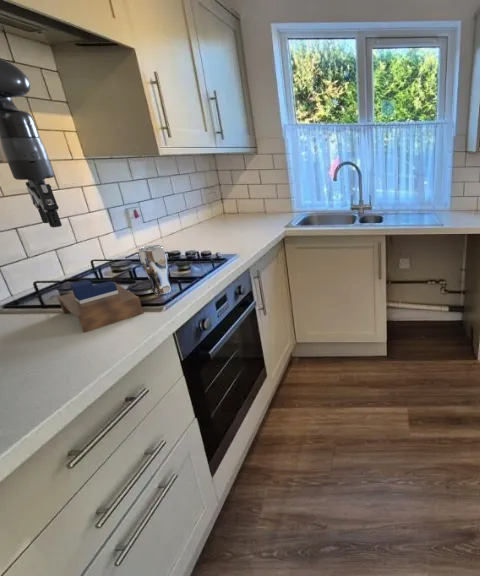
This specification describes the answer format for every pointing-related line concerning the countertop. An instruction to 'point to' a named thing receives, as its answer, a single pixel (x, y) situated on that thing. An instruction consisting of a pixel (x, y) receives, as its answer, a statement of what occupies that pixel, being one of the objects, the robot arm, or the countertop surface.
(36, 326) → the countertop surface
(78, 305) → the wooden display riser
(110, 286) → the blue stepped sponge
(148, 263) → the beer glass
